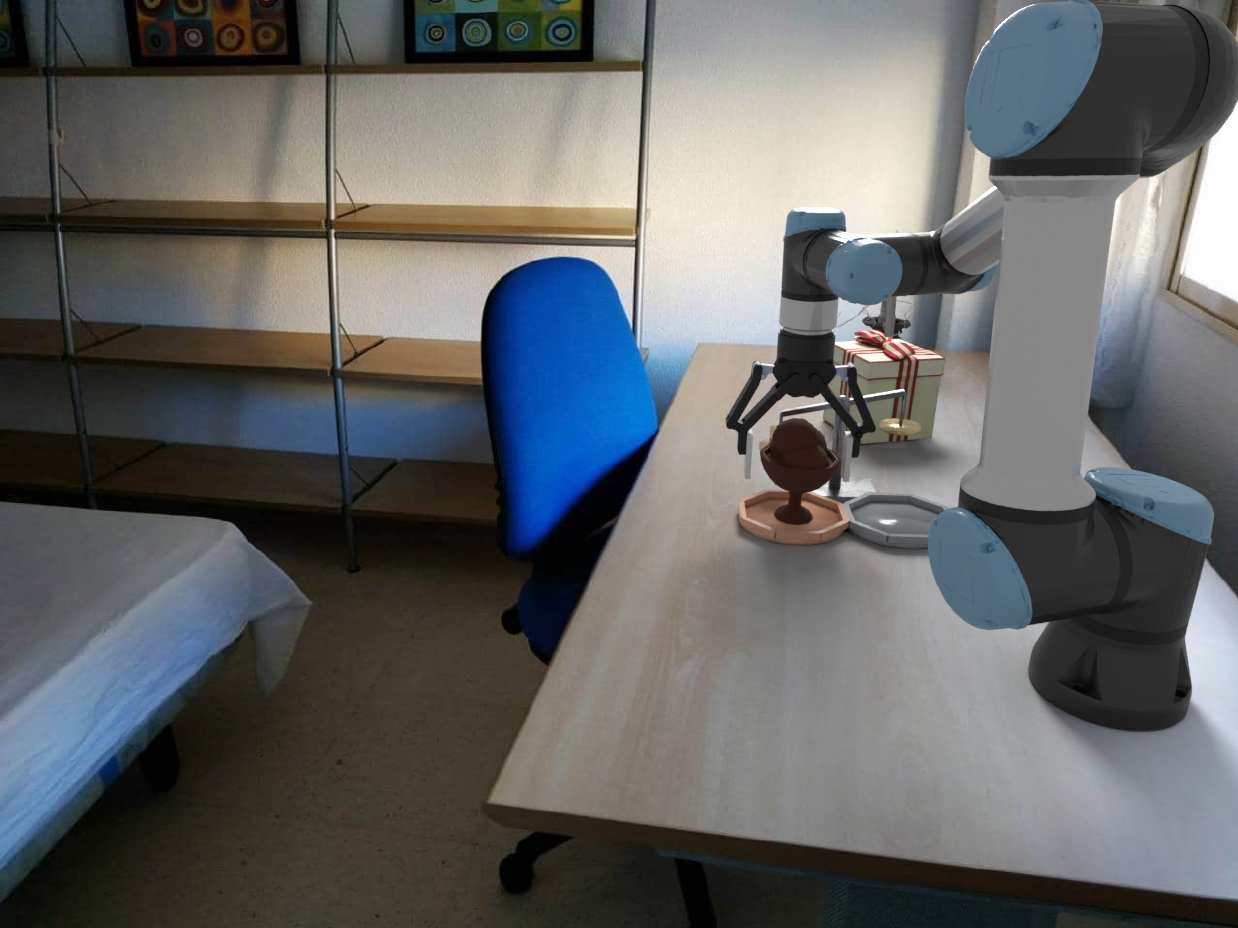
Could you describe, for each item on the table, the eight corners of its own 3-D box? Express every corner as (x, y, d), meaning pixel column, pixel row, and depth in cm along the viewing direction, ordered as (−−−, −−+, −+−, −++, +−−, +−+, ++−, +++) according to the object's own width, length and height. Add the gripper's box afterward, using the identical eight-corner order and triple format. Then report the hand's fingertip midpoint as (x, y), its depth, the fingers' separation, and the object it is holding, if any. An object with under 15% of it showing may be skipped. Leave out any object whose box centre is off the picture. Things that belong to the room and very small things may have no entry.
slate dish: (965, 550, 132) (967, 538, 131) (853, 546, 132) (854, 534, 132) (938, 505, 146) (940, 494, 145) (837, 502, 146) (838, 491, 146)
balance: (917, 506, 145) (931, 398, 139) (758, 501, 147) (764, 394, 140) (906, 485, 153) (919, 382, 147) (754, 481, 154) (760, 378, 148)
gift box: (952, 436, 175) (965, 342, 168) (865, 449, 168) (875, 351, 162) (894, 408, 189) (904, 321, 183) (812, 419, 183) (819, 328, 177)
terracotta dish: (853, 546, 132) (854, 534, 132) (741, 543, 133) (742, 531, 133) (837, 502, 146) (838, 491, 146) (736, 499, 147) (737, 488, 147)
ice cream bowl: (832, 537, 134) (846, 435, 128) (751, 527, 136) (760, 426, 130) (833, 505, 143) (845, 408, 137) (756, 496, 145) (765, 401, 139)
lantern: (816, 359, 222) (827, 225, 211) (898, 356, 225) (914, 223, 215) (847, 382, 206) (861, 237, 195) (936, 378, 209) (954, 235, 198)
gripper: (896, 323, 132) (880, 469, 140) (711, 320, 134) (705, 464, 141) (908, 337, 125) (891, 489, 133) (713, 333, 127) (707, 484, 134)
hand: (795, 477), depth 137 cm, fingers open, 13 cm apart
